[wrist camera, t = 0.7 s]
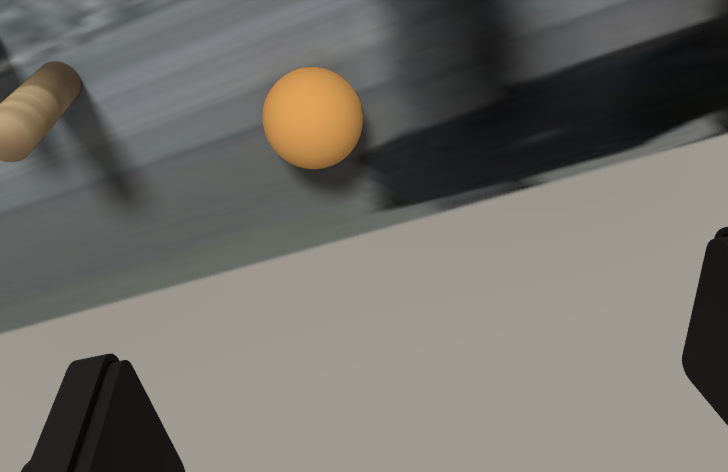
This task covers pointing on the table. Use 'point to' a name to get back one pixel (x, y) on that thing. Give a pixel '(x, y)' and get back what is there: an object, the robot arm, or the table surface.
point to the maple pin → (35, 109)
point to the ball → (312, 118)
